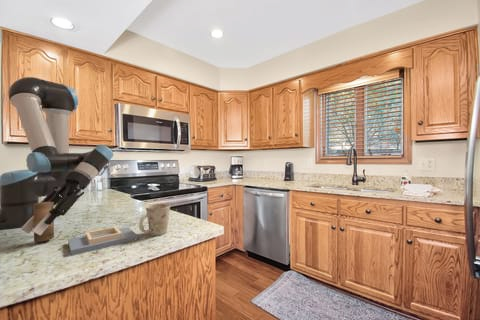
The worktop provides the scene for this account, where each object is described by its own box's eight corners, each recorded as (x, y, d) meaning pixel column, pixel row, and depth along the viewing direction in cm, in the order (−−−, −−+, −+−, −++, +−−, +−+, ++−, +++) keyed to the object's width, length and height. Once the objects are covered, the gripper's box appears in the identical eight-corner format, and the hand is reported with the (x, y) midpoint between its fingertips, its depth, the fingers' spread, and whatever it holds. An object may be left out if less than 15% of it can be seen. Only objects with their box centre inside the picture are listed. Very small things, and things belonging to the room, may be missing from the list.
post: (34, 238, 73) (33, 203, 73) (53, 234, 76) (53, 201, 76) (33, 242, 69) (33, 205, 69) (54, 238, 73) (53, 203, 72)
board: (68, 243, 71) (68, 234, 71) (128, 230, 83) (128, 223, 83) (71, 255, 62) (70, 245, 62) (137, 239, 74) (137, 230, 74)
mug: (174, 230, 83) (174, 204, 83) (150, 242, 71) (149, 212, 71) (157, 228, 86) (157, 203, 86) (131, 239, 74) (131, 210, 74)
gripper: (105, 183, 84) (58, 240, 69) (72, 181, 90) (23, 234, 75) (91, 170, 79) (38, 229, 64) (58, 169, 85) (2, 223, 70)
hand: (30, 232), depth 69 cm, fingers closed on post, 5 cm apart
